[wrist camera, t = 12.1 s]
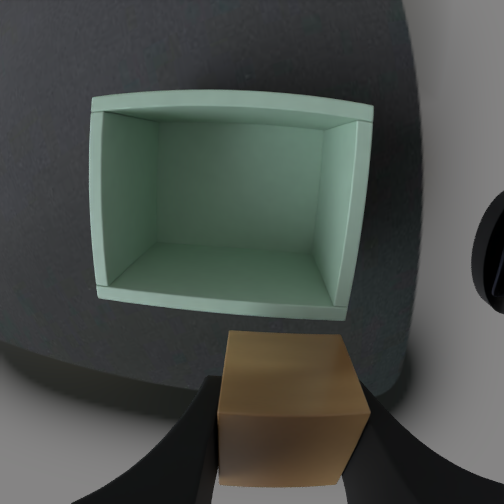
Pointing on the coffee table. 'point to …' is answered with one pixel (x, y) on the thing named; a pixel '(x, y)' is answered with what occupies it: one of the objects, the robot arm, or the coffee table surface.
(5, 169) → the coffee table surface
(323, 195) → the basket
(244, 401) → the block
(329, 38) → the coffee table surface
